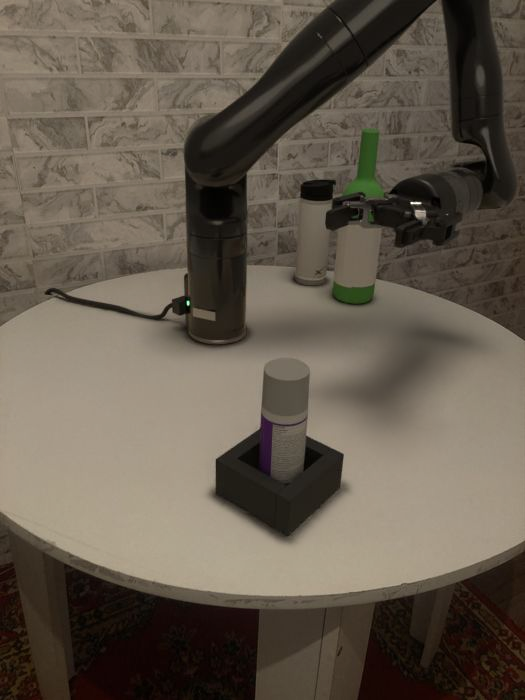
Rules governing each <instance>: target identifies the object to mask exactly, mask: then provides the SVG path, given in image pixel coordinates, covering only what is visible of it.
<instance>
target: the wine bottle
mask: <svg viewBox="0 0 525 700" xmlns="http://www.w3.org/2000/svg"><path fill="white" fill-rule="evenodd" d="M379 139H380V130H378V129H372V128H363V129H362V130H361V136H360V144H359V145H360V146H359V153H358V163H357V172H356V177H355V178H354V180H353V181H351V182H349V183H348V185H347V186H346V187H345V188H344V191H343V192H342V194H341V196H345V195H349V194H353V193H357V192H363V193H365V194H366V195H365V197H383V196H384V195H385V192H384V190H383V188H382V186H381V184H380V183H378V181H376V178H375V175H376V167H377V159H378V149H379V141H380V140H379ZM357 217H358V215H357V216H353V217H351V218H357ZM368 221H374V220H373V217H372V215H371V211H369V217H368ZM382 232H383V228H370V229H364V228H362V227H361V226H359V225H347V226H345V227H342V228H339V229H337V237H336V238H337V240H336V248H335V249H336V251H335V260H334V261H335V262H334V272H333V282H332V284H333V285H332V294H333V296H334V297H335V298H336V299H337V300H338V301H341V302H343V303H347V304H352V305H353V304H356V305H357V304H358V305H359V304H364V303H368V302H369V301H371V300H372V299H373V297H374V294H375V287H376V280H377V272H378V266H379V265H378V264H379V258H380V250H381V249H380V248H381V240H382Z"/></svg>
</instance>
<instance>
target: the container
mask: <svg viewBox="0 0 525 700" xmlns="http://www.w3.org/2000/svg"><path fill="white" fill-rule="evenodd" d="M262 374H263V376H262V389H261V390H262V392H261V406H260V407H261V408H260V428H259V429H260V458H259V471H261V472H263V473H265V474H266V475H268V476H270V477H272V478H274V479H276V480H277V481H279V482H281V483H283V484H285V485H286V486H287V485H288V484H289V483H291V482H292V481H293V480H294V479H295V478H297V477H298V476H299V475H300V474H301V473H303V469H304V457H305V444H306V436H307V430H308V419H309V418H308V417H309V399H310V397H309V396H310V377H311V376H310V375H311V368H310V366H309V365H308V364H307V363H306V362H305V361H302V360H301V359H296V358H292V357H278V358H274V359H271V360H269V361H267V362H266V363H265V364H264V366H263V373H262Z"/></svg>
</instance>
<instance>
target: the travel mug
mask: <svg viewBox="0 0 525 700" xmlns="http://www.w3.org/2000/svg"><path fill="white" fill-rule="evenodd" d="M336 185H337V180H336V179H325V178H324V179H323V178H322V179H321V178H320V179H312V180H307V181H304V182H302V183H301V184H300V194H299V195H300V196H299V201H298V202H299V203H298V204H299V205H298V220H297V236H296V237H297V239H296V254H295V255H296V257H295V273H294V280H295V281H296V282H297V283H298V284H300V285H304V286H308V287H309V286H310V287H313V286H314V287H315V286H320V285H323V284H325V283H326V282H327V273H328V263H329V251H330V240H331V239H330V237H331V230H327V229H326V225H325V219H326V212H327V211H329V210H331V209H332V200H333V198H334V195H333V194H334V187H335V186H336Z"/></svg>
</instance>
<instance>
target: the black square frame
mask: <svg viewBox="0 0 525 700" xmlns="http://www.w3.org/2000/svg"><path fill="white" fill-rule="evenodd" d="M344 457H345V454H344V453H343V452H341V451H339V450H337V449H334V448H332V447H330V446H328V445H327V444H324V443H322V442H320V441H318V440H316V439H315V438H312V437H310V436H308V435H306V444H305V457H304V469H303V473H301V474H300V475H299V476H298V477H297V478H295V479H294V480H293V481H292V482H291V483H289V484H288V485H287V486H286V485H285V484H283V483H281V482H279V481H277V480H276V479H274V478H272V477H270V476H268V475H266V474H265V473H263V472H261V471H259V458H260V428H258V429H257V430H255V431H254V432H253V433H251V434H250V435H249V436H246V437H245V438H244V439H242V440H241V441H239V442H238V443H237V444H236V445H234V446H233V447H231V448H229V449H228V450H227V451H225V452H224V453H223V454H221V455H219V456H218V457H217V458H215V494H217V495H219V496H221V497H222V498H224V499H225V500H227V501H229V502H230V503H232V504H234V505H236V506H237V507H238V508H240V509H242V510H244V511H245V512H246V513H248V514H250V515H252V516H253V517H255V518H257V519H258V520H260V521H262V522H263V523H265V524H266V525H269V526H270V527H271V528H273V529H275V530H276V531H278V532H280V533H282V534H283V535H285V536H287V537H288V536H290V535H291V534H292V533H293V532H294V531H295V530H296V529H297V528H298V527H299V526H300V525H301V524H303V522H305V520H307V518H309V517H310V516H311V515H312V514H313V513H314V512H315V511H316V510H317V509H319V508H320V507H321V505H323V503H325V502H326V501H327V500H328V499H329V498H330V497H331V496H332V495H333V494H334V493H336V492H337V490H339V488H340V487H341V484H342V483H341V482H342V477H343V465H344Z"/></svg>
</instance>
